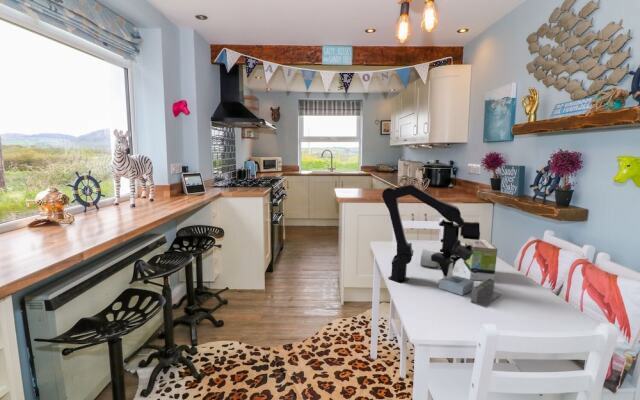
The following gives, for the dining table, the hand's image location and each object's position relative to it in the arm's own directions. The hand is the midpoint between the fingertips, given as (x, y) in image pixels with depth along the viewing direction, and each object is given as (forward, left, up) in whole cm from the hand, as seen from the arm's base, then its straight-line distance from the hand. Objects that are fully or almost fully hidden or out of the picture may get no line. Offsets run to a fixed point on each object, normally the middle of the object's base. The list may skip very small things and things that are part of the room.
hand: (447, 274), depth 138 cm
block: (0, -4, -5) cm, 6 cm away
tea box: (+23, -3, -5) cm, 24 cm away
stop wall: (0, -16, -5) cm, 16 cm away
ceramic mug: (+18, +18, -5) cm, 25 cm away
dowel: (0, 0, -4) cm, 4 cm away
